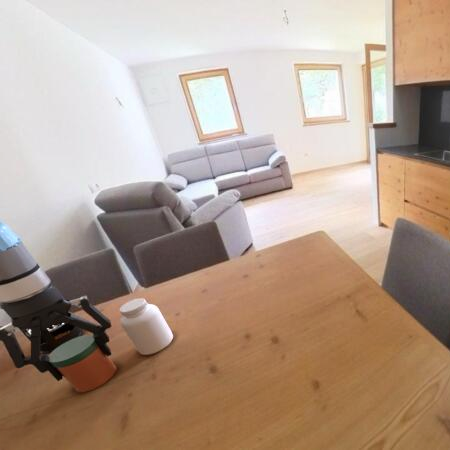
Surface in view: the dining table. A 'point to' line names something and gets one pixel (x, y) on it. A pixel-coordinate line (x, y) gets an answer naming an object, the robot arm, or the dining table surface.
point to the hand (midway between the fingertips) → (85, 364)
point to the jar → (89, 371)
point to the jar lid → (72, 351)
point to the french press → (49, 334)
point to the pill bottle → (145, 326)
